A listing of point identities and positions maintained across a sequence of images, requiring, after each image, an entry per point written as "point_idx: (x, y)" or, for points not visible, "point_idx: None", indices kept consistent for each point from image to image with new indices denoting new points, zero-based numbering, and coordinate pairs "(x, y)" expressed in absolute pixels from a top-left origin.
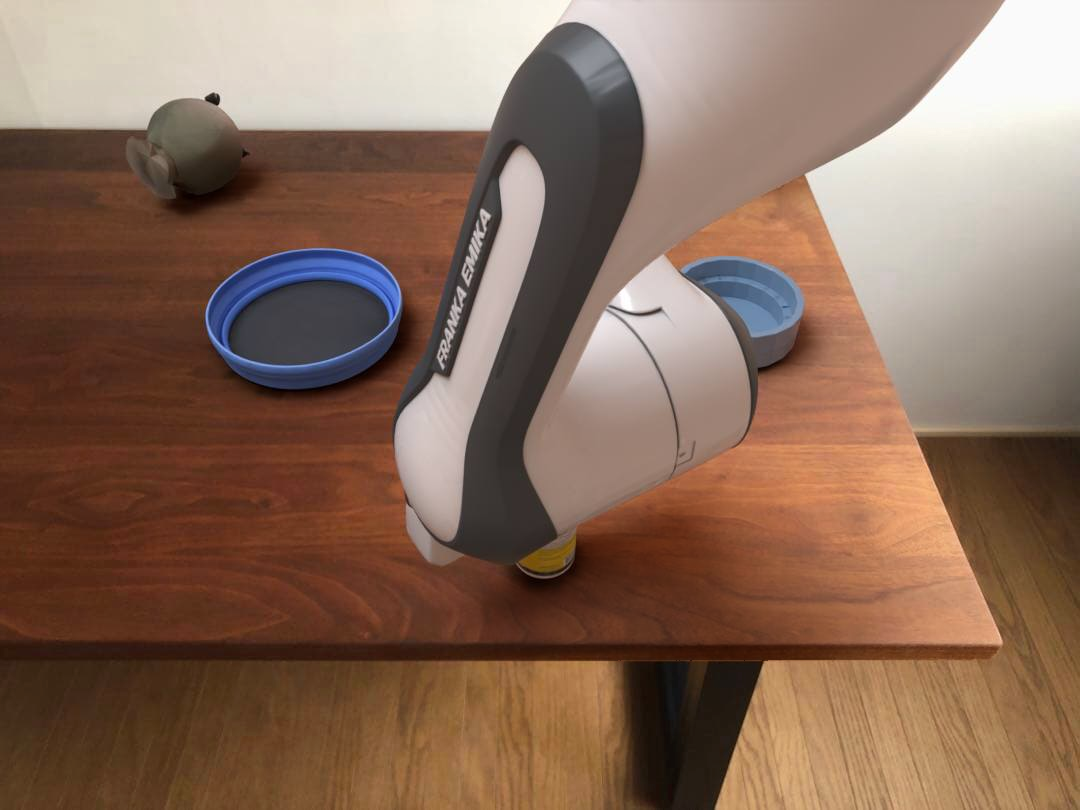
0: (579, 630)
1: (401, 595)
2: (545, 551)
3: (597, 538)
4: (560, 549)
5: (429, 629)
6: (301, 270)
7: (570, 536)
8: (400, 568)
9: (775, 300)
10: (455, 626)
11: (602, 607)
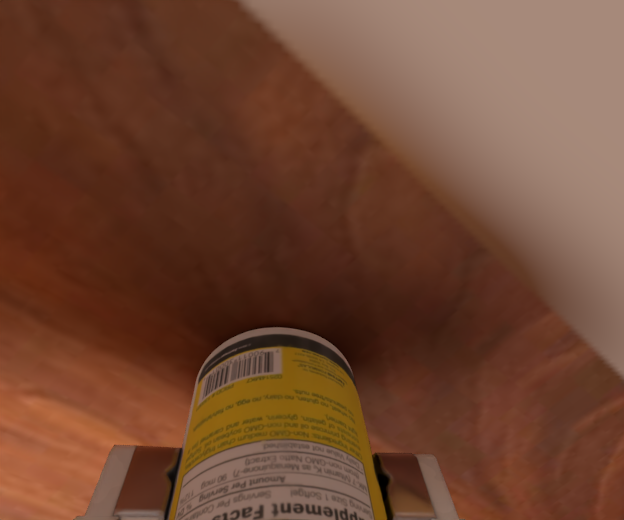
0: (371, 172)
1: (558, 452)
2: (347, 444)
3: (125, 348)
4: (300, 425)
5: (594, 379)
6: None
7: (253, 460)
8: (511, 488)
9: None
10: (558, 357)
11: (262, 185)
